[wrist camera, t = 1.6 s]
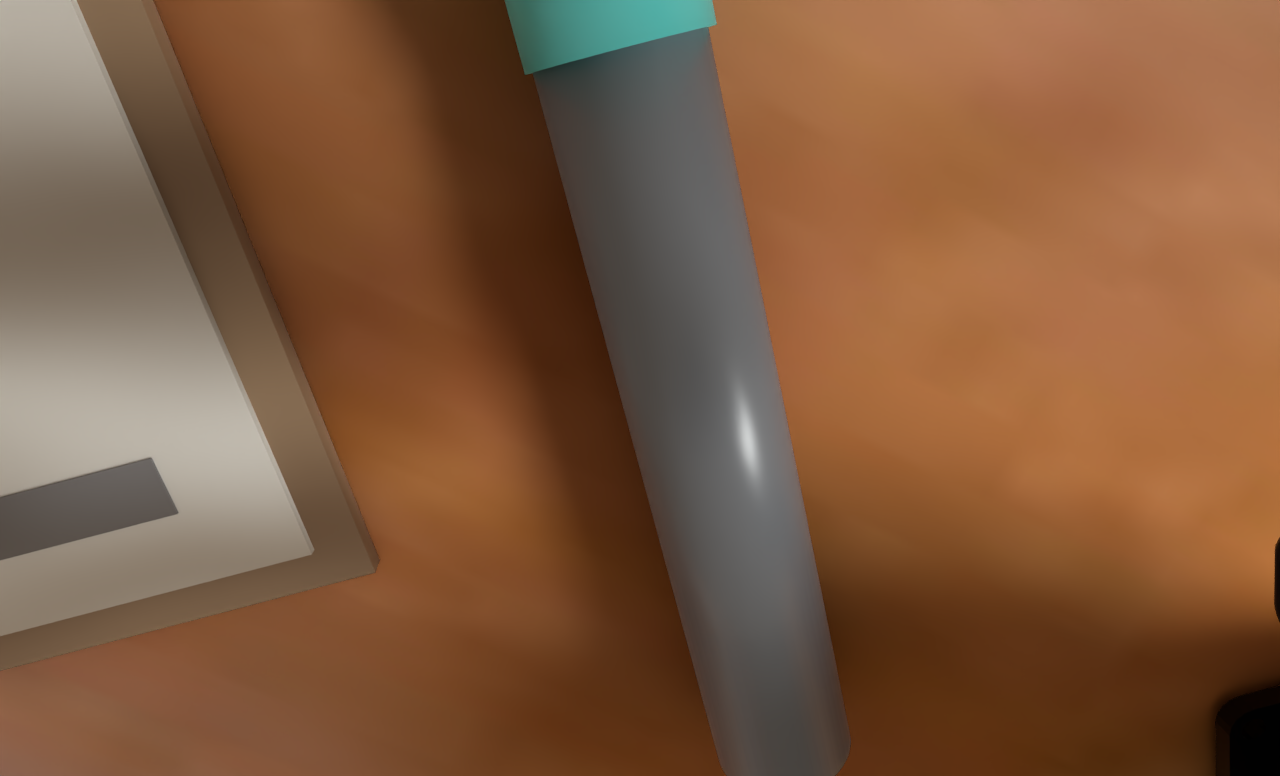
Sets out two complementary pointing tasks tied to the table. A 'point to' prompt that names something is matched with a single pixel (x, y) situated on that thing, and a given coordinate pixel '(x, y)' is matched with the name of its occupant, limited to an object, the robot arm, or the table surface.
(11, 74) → the clipboard
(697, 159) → the marker
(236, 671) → the table surface
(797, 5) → the table surface
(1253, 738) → the robot arm
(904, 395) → the table surface
